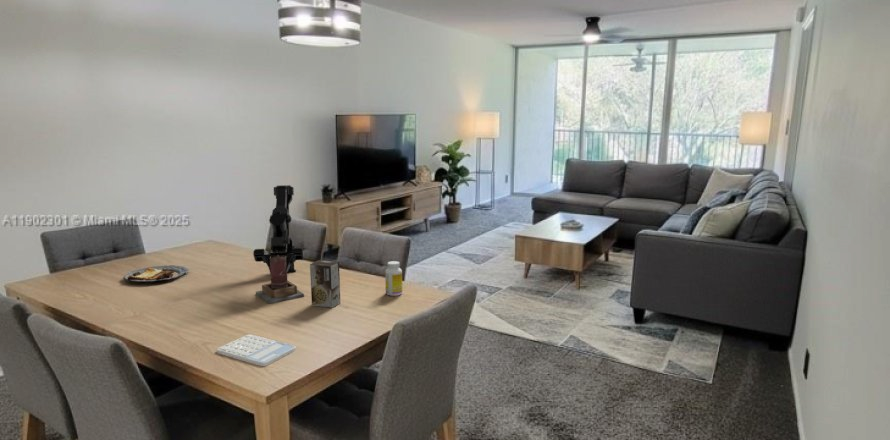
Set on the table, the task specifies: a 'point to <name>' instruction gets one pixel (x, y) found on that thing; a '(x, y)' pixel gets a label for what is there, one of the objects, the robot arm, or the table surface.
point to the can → (278, 272)
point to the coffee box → (325, 283)
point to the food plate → (155, 273)
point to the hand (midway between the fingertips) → (278, 273)
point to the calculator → (256, 350)
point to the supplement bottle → (393, 279)
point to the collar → (279, 293)
